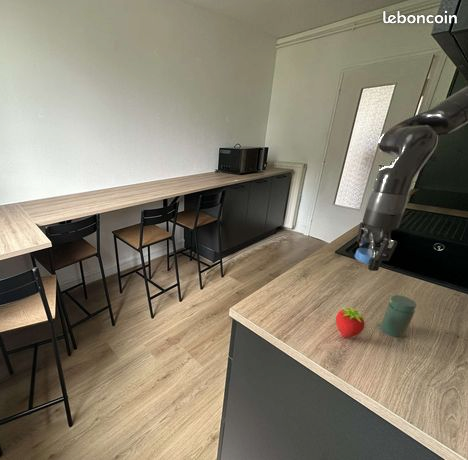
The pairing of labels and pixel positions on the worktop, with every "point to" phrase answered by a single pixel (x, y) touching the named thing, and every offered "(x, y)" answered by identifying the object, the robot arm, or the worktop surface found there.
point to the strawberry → (349, 322)
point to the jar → (398, 316)
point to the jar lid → (364, 255)
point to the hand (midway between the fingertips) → (366, 264)
